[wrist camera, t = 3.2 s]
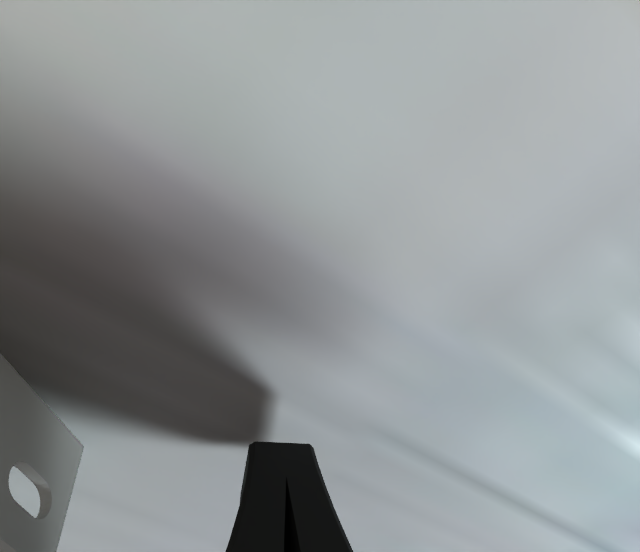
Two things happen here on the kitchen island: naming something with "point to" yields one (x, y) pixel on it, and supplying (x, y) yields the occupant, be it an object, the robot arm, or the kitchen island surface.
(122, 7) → the kitchen island surface
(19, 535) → the bracket
